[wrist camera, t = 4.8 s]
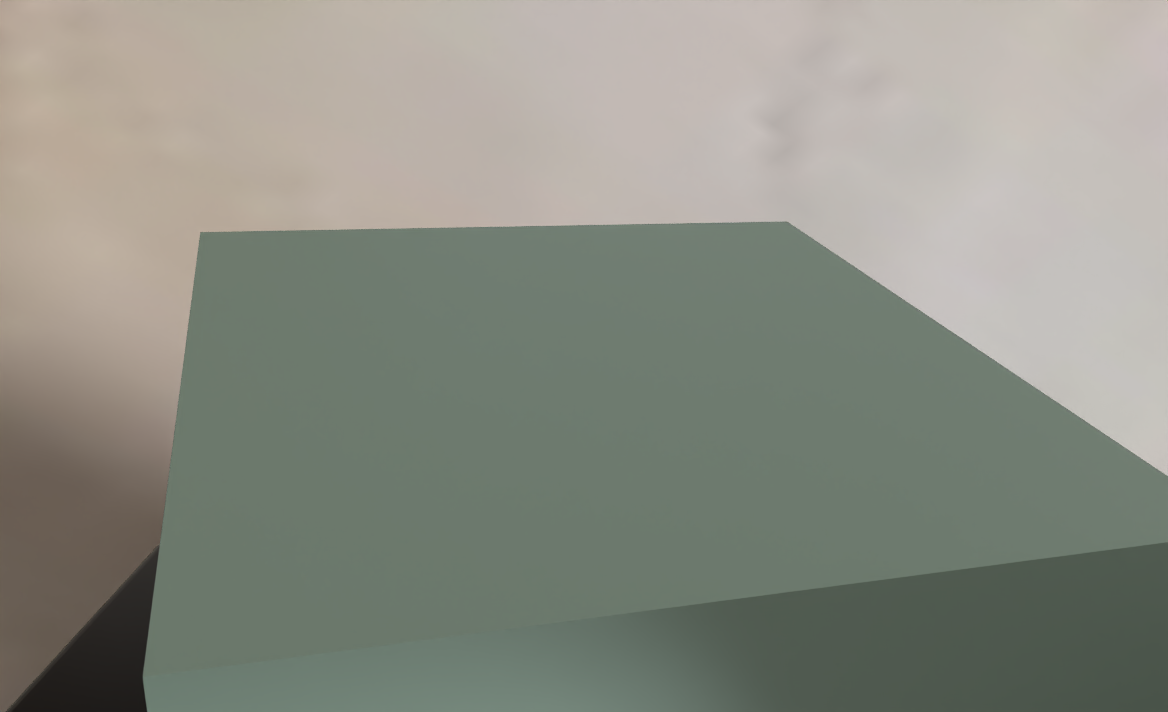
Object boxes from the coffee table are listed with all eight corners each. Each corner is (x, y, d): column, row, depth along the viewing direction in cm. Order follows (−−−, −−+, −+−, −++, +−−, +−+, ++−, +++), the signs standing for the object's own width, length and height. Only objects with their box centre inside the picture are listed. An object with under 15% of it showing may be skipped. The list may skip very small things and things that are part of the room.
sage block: (717, 657, 11) (1003, 1142, 7) (241, 727, 10) (237, 1387, 6) (787, 222, 9) (1249, 532, 5) (200, 233, 8) (143, 676, 4)
